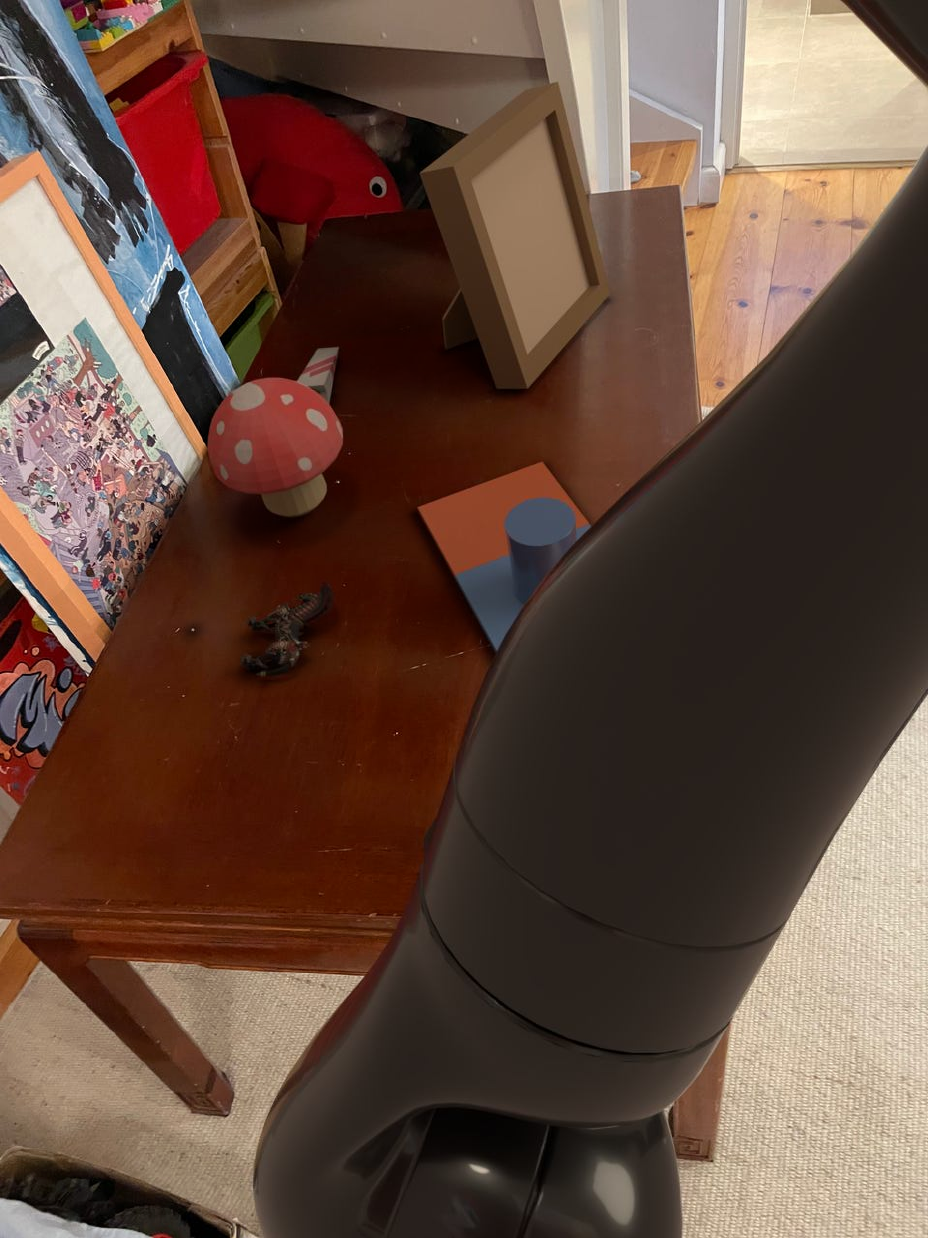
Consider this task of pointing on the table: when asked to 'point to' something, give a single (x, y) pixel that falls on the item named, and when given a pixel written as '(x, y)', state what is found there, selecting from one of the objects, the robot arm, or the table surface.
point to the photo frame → (517, 237)
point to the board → (489, 541)
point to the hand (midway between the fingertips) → (570, 813)
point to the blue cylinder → (537, 541)
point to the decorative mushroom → (275, 443)
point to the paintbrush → (321, 372)
